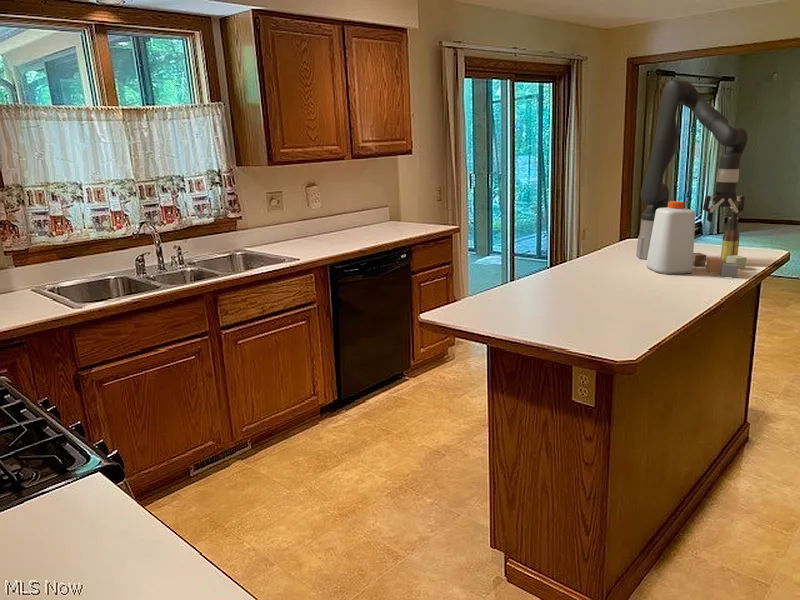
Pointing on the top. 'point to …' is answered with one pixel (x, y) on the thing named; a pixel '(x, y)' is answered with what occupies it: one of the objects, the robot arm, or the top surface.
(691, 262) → the plastic bottle
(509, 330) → the top surface
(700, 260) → the walnut cube
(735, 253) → the sauce bottle
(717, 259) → the terracotta cube
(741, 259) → the sage cube
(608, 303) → the top surface
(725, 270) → the slate cube
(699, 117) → the robot arm
